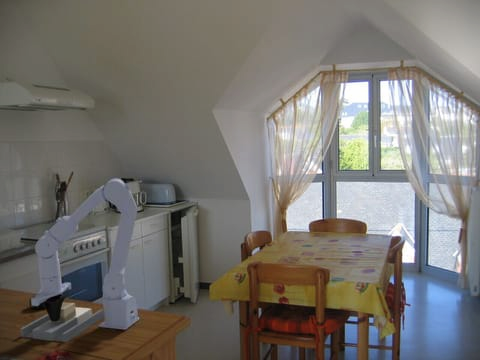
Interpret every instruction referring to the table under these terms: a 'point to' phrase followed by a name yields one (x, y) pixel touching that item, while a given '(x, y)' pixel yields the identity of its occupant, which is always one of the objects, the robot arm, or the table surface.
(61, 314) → the maple block
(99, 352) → the table surface
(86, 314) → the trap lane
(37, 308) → the tape measure
